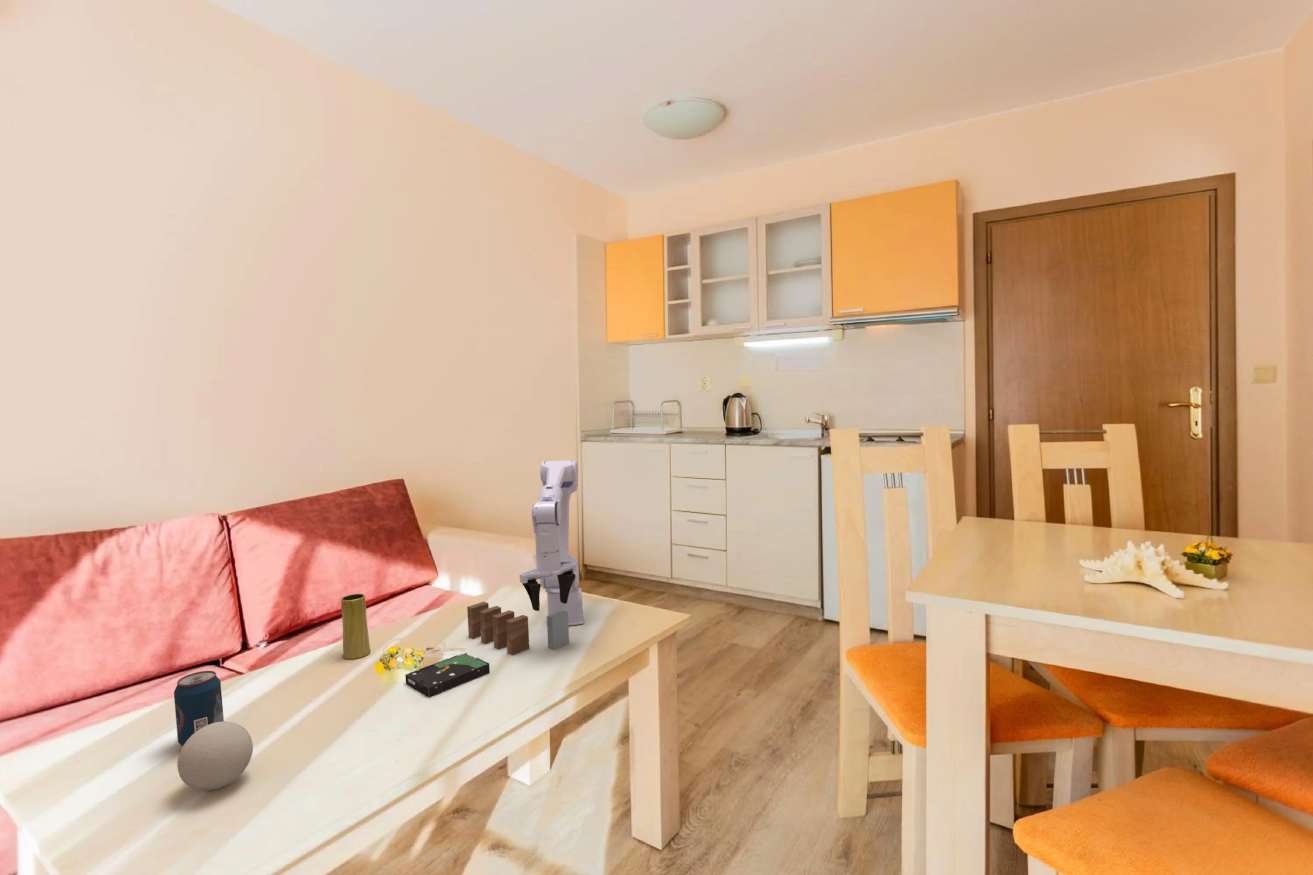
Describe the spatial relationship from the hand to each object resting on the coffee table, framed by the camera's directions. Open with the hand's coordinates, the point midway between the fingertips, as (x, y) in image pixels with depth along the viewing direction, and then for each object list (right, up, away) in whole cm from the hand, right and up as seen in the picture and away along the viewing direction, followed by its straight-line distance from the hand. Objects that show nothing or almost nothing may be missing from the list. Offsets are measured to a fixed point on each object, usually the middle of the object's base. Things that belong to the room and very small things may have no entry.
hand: (550, 606), depth 153 cm
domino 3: (-8, -11, 0) cm, 13 cm away
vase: (-47, -12, +1) cm, 49 cm away
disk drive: (-20, -13, -14) cm, 27 cm away
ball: (-45, -16, -50) cm, 69 cm away
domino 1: (-16, -11, +7) cm, 21 cm away
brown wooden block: (-12, -11, +4) cm, 16 cm away
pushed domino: (-20, -10, +11) cm, 25 cm away
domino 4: (+2, -10, +3) cm, 11 cm away
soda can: (-58, -15, -37) cm, 70 cm away
